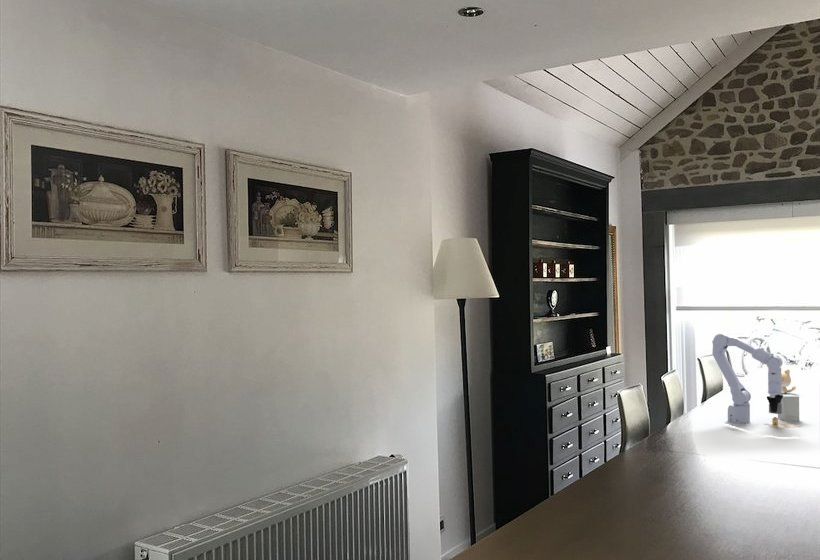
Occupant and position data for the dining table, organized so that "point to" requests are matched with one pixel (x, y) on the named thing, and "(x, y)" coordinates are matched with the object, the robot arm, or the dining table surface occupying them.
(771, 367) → the robot arm
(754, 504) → the dining table surface
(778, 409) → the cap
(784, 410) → the supplement box
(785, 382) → the kitten
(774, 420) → the stud
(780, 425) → the board
